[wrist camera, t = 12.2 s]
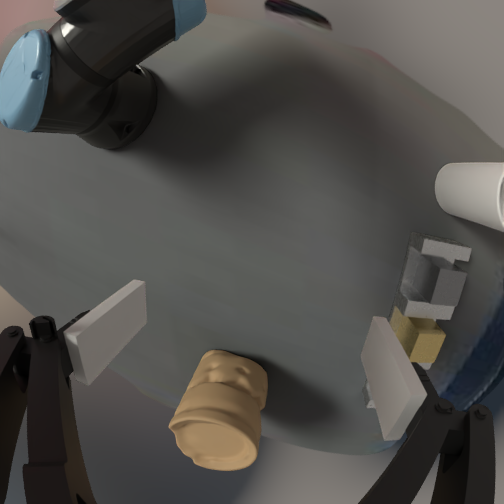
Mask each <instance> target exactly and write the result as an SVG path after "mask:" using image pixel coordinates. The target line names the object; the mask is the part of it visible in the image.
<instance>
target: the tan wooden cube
mask: <svg viewBox="0 0 504 504" xmlns="http://www.w3.org/2000/svg"><path fill="white" fill-rule="evenodd" d="M445 336H446V334H445V333H444V332H443V331H442V329H441V328H440V327H439V326H438V324H437V323H436V322H435V321H434V320H433V319H429V318H416V317H405V316H402V319H401V322H400V325H399V328H398V331H397V334H396V337H397V338H398V340H399V342H400V344H401V345H402V347H403V349H404V351H405V353H406V355H407V356H408V358H409V360H410V362H417V363H434V362H435V359H436V357H437V355H438V353H439V351H440V348H441V346H442V344H443V341H444V339H445Z"/></svg>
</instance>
